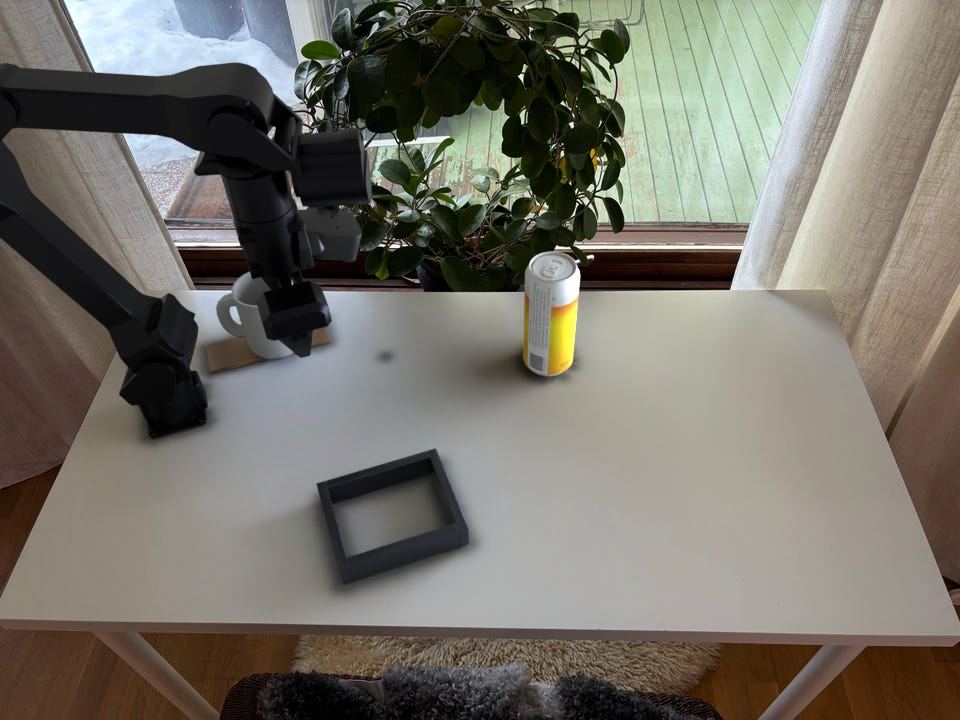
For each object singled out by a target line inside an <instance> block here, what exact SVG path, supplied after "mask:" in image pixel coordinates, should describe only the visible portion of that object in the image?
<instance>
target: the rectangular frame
mask: <svg viewBox="0 0 960 720" xmlns="http://www.w3.org/2000/svg"><path fill="white" fill-rule="evenodd" d="M429 475H431V476H432V478H433V481H434V483H435V486H436V488H437V491H438V494H439V497H440V499H441V502H442V504H443V506H444V510H445V512H446V514H447V517H448V519H449V522H450V524H448V525H444V526H441V527H438V528H435V529H432V530H429V531H425V532H422V533H419V534H416V535H413V536H409V537H407V538H404V539H401V540H398V541H395V542H390V543H388V544H385V545H382V546H379V547H376V548H373V549H369V550H366V551H364V552H360V553H357V554H353V555H350V556H347V554H346V550H345V546H344V542H343V538H342V535H341V532H340V527H339V524H338V520H337V517H336V516H337V515H336V512H335V508H334V506H333V504H334V505H335V504H337V503H341V502H344V501H348V500H350V499H354V498H358V497H361V496H363V495H364V496H365V495H367V494H371V493H373V492H377V491H380V490H384V489H386V488H390V487H394V486H396V485H399V484H403V483H407V482H410V481H413V480H416V479H420V478H423V477H428V476H429ZM316 488H317V492H318V495H319V500H320V503H321V507H322V511H323V516H324V518H325V522H326V523H325V524H326V526H327V530H328V535H329V538H330V542H331V545H332V549H333V554H334V556H335V557H334V558H335V561H336V565H337V569H338V572H339V575H340V579H341V582H342V585H343V586H344V585H347V584H350V583H354V582H357V581H361V580H363V579H366V578H369V577H372V576H375V575H378V574H381V573H384V572H387V571H390V570H393V569H397V568H399V567H403V566H406V565H409V564H412V563H415V562H418V561H421V560H425V559H427V558H430V557H433V556H436V555H437V556H438V555H439V554H443V553H445V552H448V551H452V550H455V549H458V548H460V547H464V546H466V545H469V544H470V536H469V534H470V533H469V532H470V531H469V526H468V524H467V521H466V518H465V516H464V513H463V511H462V509H461V506H460V504H459V501H458V499H457V497H456V494H455V491H454V489H453V485H452V483H451V481H450V479H449V477H448V474H447V472H446V470H445V467H444V465H443V462H442V460H441V457H440V455H439V452H438V449H437V448H432V449H428V450H425V451H421V452H418V453H414V454H412V455H408V456H404V457H401V458H398V459H394V460H392V461H387V462H385V463H381V464H378V465H374V466H370V467H368V468H364V469H360V470H357V471H353V472H350V473H347V474H344V475H340V476H337V477H334V478H330V479H327V480H323V481H319V482H316Z"/></svg>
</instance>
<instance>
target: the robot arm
mask: <svg viewBox="0 0 960 720" xmlns="http://www.w3.org/2000/svg"><path fill="white" fill-rule="evenodd" d="M270 127H274V128H275V129H274V133H273V138H272V139H271V138H270V137H269V130H270ZM303 127H304V119H303V118H302V117H300V116H299V114H297V113H296V112H295V111H294V110H293V109H291V107H290V106H288V104H286V103H285V101H283V100H282V99H281V98H279V96H277V94H275V93H274V89H273V87H272V86H271V84H270V82H269V81H268V79H267V78H266V77H265V76H264V75H262V74H261V73H260V72H259V71H258V69H257V67H254V66H252V65H250V64H247V63H244V62H243V63H242V62H226V63H215V64H207V65H197V66H193V67H191V68H188V69H185V70H182V71H179V72H175V73H173V74H166V75H165V74H163V75H147V74H146V75H145V74H130V73H129V74H127V73H112V72H99V71H98V72H96V71H95V72H94V71H82V70H81V71H79V70H64V69H63V70H62V69H48V68H34V67H33V68H31V67H21V66H19V65H16V64H13V63H9V62H3V63H0V240H1V241H3V243H5V244H6V245H7V246H8V247H10V248H11V250H13V251H14V252H16V253H17V254H18V255H19V256H20V257H21V258H23V259H24V260H25V261H26V263H28V264H30V266H32V267H33V268H35V270H37V271H38V272H39V273H40V274H41V275H43V276H44V277H45V278H46V279H47V280H49V281H50V282H51V283H52V284H53V285H55V286H56V287H57V288H58V289H59V290H60V291H62V292H63V293H64V294H65V295H66V296H68V297H69V298H70V299H71V300H72V301H74V303H76V304H77V305H78V306H79V307H81V308H82V309H83V310H84V311H85V312H87V314H89V315H90V316H91V317H92V318H93V319H95V320H96V321H97V322H98V323H99V324H101V325H102V326H103V327H104V328H105V329H106V330H107V332H108V334H109V336H110V338H111V341H112V343H113V346H114V348H115V350H116V352H117V355H118V358H119V359H120V360H121V362H123V363H124V365H125V366H126V367H127V369H126V372H125V375H124V377H123V380H122V383H121V387H120V388H119V389H120V390H119V392H118V395H119V397H120V398H122V399H123V401H125V402H126V403H127V404H128V405H130V406H138V408H139V410H140V412H141V414H142V416H143V418H144V420H145V422H146V426H147V428H146V429H147V436H148V438H149V439H152V440H153V439H157V438H160V437H164V436H165V437H166V436H168V435H171V434H172V435H173V434H175V433H179V432H183V431H187V430H191V429H194V428H197V427H202V426H205V425H206V424H207V423H208V419H207V414H206V413H207V412H206V410H207V409H208V407H209V404H208V398H207V392H206V390H205V387H204V384H203V382H202V380H201V377H200V374H199V372H198V371H197V370H196V369H193V370H192V369H191V364H192V360H193V358H194V353H195V349H196V345H197V341H198V338H199V325H198V323H197V321H196V320H195V318H196V312H194V311H191V310H190V309H188V308H186V307H185V306H184V305H183V304H182V303H181V302H180V301H179V299H178V298H177V297H176V296H175V295H174V294H172V293H171V292H169V293H168V292H167V293H166V294H165V295H164V296H162V297H156V296H152V295H148V294H144V293H142V292H141V291H139V289H137V288H136V287H135V286H134V285H133V284H132V283H131V282H129V280H128V279H126V278H125V277H124V276H123V275H122V274H121V273H120V272H119V271H117V269H115V268H114V267H113V266H112V265H111V264H110V263H109V262H108V261H107V260H106V259H105V258H104V257H102V256H101V255H100V254H99V253H98V252H97V251H96V250H95V249H94V248H93V247H91V246H90V245H89V243H87V241H85V240H84V239H83V238H81V236H80V235H78V234H77V233H76V232H75V231H74V230H73V229H72V228H71V227H70V226H69V225H67V224H66V223H65V222H64V221H63V220H62V219H61V218H60V217H59V216H58V215H57V214H55V212H54V211H52V210H51V209H50V208H49V207H48V206H47V205H46V204H44V203H43V201H41V199H39V198H38V197H37V196H36V195H35V194H34V193H33V191H32V190H31V189H30V187H29V185H28V183H27V180H26V178H25V175H24V173H23V171H22V169H21V167H20V164H19V161H18V160H17V157H16V156H15V154H14V153H13V152H12V150H11V149H10V148H9V147H8V146H7V144H5V142H4V141H3V140H4V139H5V138H6V137H7V135H8V134H9V133H10V132H11V131H12V130H15V129H27V130H28V129H33V130H47V131H48V130H49V131H50V130H51V131H68V132H69V131H70V132H88V133H108V134H127V135H143V136H158V137H163V138H168V139H172V140H174V141H176V142H178V143H180V144H182V145H184V146H186V147H188V148H190V150H191V149H192V150H193V151H196V152H199V154H198V156H197V159H196V162H195V165H194V169H193V173H194V175H195V176H197V177H206V176H220V179H221V181H222V184H223V187H224V190H225V195H226V198H227V201H228V204H229V207H230V210H231V214H232V217H233V220H232V222H233V225H234V229H235V232H236V237H237V240H238V243H239V246H240V248H241V249H242V253H243V257H244V258H245V260H246V263H247V267H248V269H249V272H250V274H251V277H252V280H253V279H257V278H262V279H263V280H264V282H265V283H266V284H267V285H268V287H269V288H270V289H271V290H270V291H267V292H263V294H262V295H261V296H260V298H259V299H258V300H257V302H256V303H257V307H258V310H259V314H260V317H261V321H262V324H263V327H264V331H265V334H266V337H267V339H269V340H273V341H276V340H279V341H280V342H281V343H283V344H284V345H285V346H286V347H288V348H289V349H290V350H291V351H292V352H294V353H293V354H295V355H296V356H297V357H298V358H300V359H303V358H307V357H309V356H311V354H312V348H311V345H312V336H313V330H316V329H320V328H323V327H325V328H327V327H328V326H329V325H330V324H331V323H332V321H333V320H332V316H331V312H330V311H331V310H330V306H329V304H328V301H327V298H326V296H325V293H324V291H323V288H322V285H321V284H318V283H316V282H314V281H312V280H305V281H304V278H303V275H302V273H301V270H309V269H311V268H315V262H314V259H317V260H323V261H343V262H344V263H353V262H355V261H356V259H357V256H358V252H359V247H360V243H361V239H362V235H363V231H362V230H361V227H360V225H359V222H358V221H357V219H356V216H355V215H354V214H353V213H352V212H350V211H349V209H348V207H347V206H354V205H355V206H356V205H369V204H372V200H373V199H372V198H373V196H372V192H373V191H372V176H371V175H372V174H371V166H370V159H369V151H368V149H366V148H365V143H364V140H363V139H362V135H361V130H360V129H359V128H358V127H356V128H354V127H353V128H343V129H340V130H337V131H325V132H311V133H303ZM287 171H289V173H290V174H289V175H290V178H291V179H290V180H291V185H292V188H291V185H290V181H289V176H288V172H287ZM292 189H293V190H292ZM292 191H293V193H294V195H295V197H296V198H299V200H300V203H301V205H302V208H303V207H307V208H305V209H299V208H298V205H297V202H296V199H295V198H293V193H292ZM341 206H342V209H341V208H340V207H341ZM300 269H301V270H300ZM291 279H292V280H291ZM292 281H293V285H292Z"/></svg>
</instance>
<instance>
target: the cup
mask: <svg viewBox="0 0 960 720" xmlns="http://www.w3.org/2000/svg"><path fill="white" fill-rule="evenodd" d="M291 280H292V278H291ZM292 285H294V284H293V281H292ZM270 290H271V289H270V288H269V287H268V285H267V284H266V283H265V282H264V280H263V279H262V278H257V279H253V280H252V277H251V274H250V271H248V272H246V273H243V274H242V275H241V276H240V277H238V278H237V279H236V281H235V282H234V283H233V285H232V287H231V292H230V293H227V294H224V295H223V296H222V297H221V298H219V300H218V301H217V303H216V306H215V309H216V310H215V311H216V316H217V319H218V322H219V324H220V326H221V327H222V328H223V329H224V331H226V332H227V333H228V334H230V335H232V336H234V337H246V339H247V342H248V344H249V347H250V349H251V350H252V351H253V352H254V353H255V354H256V355H258V356H260V357H263V358H267V360H276V359H282V358H285V357H288V356H290V355H292V354H295V353H294V352H292V351H291V350H290V349H289V348H288V347H286V346H285V345H284V344H283V343H281V342H280V341H279V340H276V341H273V340H269V339H267V337H266V334H265V331H264V327H263V324H262V321H261V317H260V314H259V310H258V307H257V303H256V302H257V300H258V299H259V298H260V296H261V295H262V294H263V292H267V291H270ZM232 307H235V308H236V311H237V315H238V317H239V322H240V323H238V322H237V321H235V320H234V318H233V317H232V314H231V308H232Z"/></svg>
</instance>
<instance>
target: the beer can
mask: <svg viewBox="0 0 960 720" xmlns="http://www.w3.org/2000/svg"><path fill="white" fill-rule="evenodd" d="M580 282H581V273H580V269H579V268H578V264H577V262H576V260H575V259H574V258H573V257H571V256H570V255H568V254H567V253H564V252H560V251H543V252H540V253H538V254H536V255H534V256H533V257H532V258H531V259H530V261H529V263H528V265H527V267H526V268H525V272H524V301H523V303H524V304H523V346H522V359H523V362H524V365H525V366H526V367H527V368H528V369H529V370H530V371H532V372H533V373H534V374H537V375H538V376H543V377H554V376H558V375H560V374H563V373H564V372H565V371H567V370H568V369H569V368H570V367H571V365H572V364H573V360H574V349H575V337H576V329H577V328H576V326H577V317H578V315H577V314H578V306H579V305H578V304H579V294H580V293H579V292H580Z"/></svg>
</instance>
